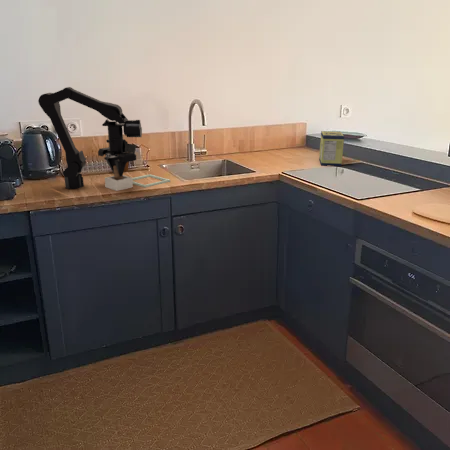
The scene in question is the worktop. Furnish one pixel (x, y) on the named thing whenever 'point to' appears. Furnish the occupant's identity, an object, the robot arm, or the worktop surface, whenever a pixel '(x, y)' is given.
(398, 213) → the worktop surface
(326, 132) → the protein box
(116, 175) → the walnut pin
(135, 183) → the pale green square frame
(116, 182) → the box
